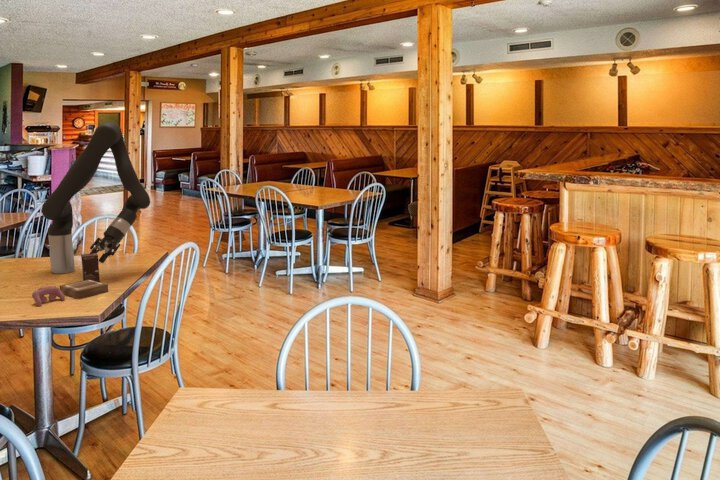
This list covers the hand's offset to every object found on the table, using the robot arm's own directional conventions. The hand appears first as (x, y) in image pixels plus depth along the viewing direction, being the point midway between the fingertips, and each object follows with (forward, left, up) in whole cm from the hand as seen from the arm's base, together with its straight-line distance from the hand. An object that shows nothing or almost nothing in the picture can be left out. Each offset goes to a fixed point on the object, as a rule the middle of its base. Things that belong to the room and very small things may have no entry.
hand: (94, 260), depth 226 cm
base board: (+11, -12, -9) cm, 19 cm away
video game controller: (+13, -26, -9) cm, 31 cm away
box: (0, -2, -9) cm, 9 cm away
